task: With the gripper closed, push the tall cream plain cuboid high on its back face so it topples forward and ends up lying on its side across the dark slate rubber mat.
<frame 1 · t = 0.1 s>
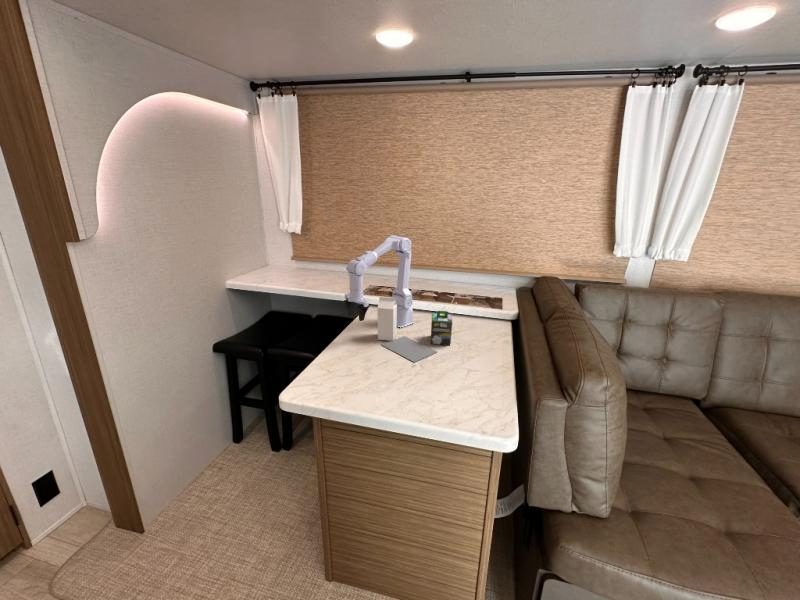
hand: (356, 317, 155), 10 cm above the worktop, tool pointing down, fingers open, 7 cm apart
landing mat: (409, 348, 150), on the worktop
chalk box: (440, 341, 160), on the worktop
cream plain cuboid: (387, 337, 160), on the worktop, touching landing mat
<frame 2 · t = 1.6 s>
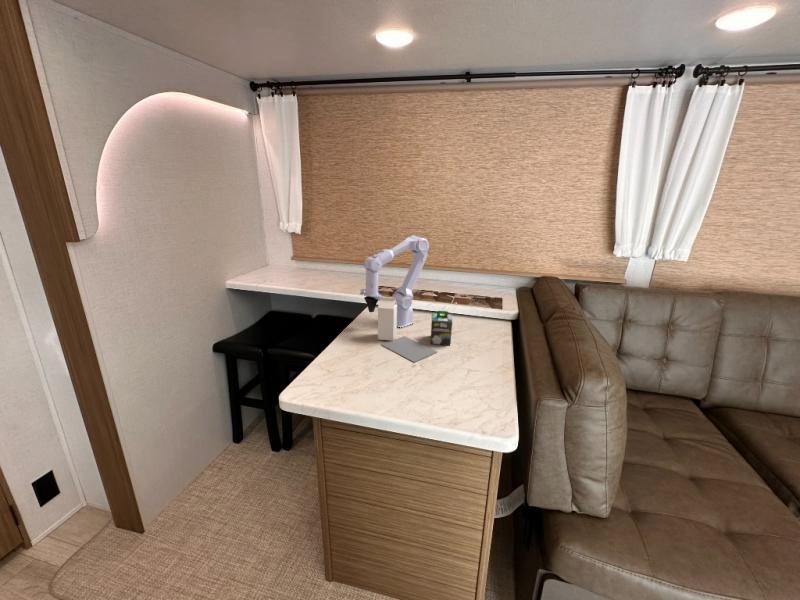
hand: (371, 311, 165), 9 cm above the worktop, tool pointing down, fingers closed
nothing on the worktop moved.
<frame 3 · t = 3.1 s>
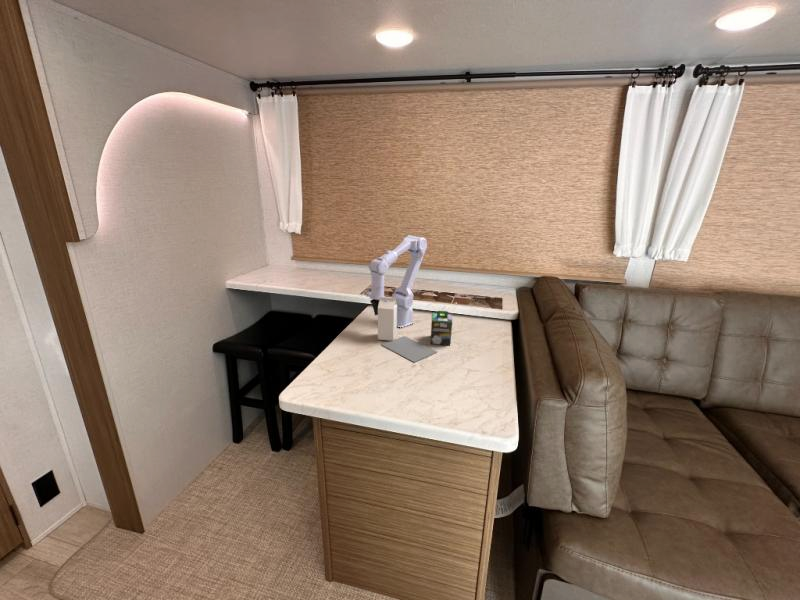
hand: (377, 314, 162), 9 cm above the worktop, tool pointing down, fingers closed
cream plain cuboid: (387, 337, 160), on the worktop, touching gripper, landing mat
everything else where it was.
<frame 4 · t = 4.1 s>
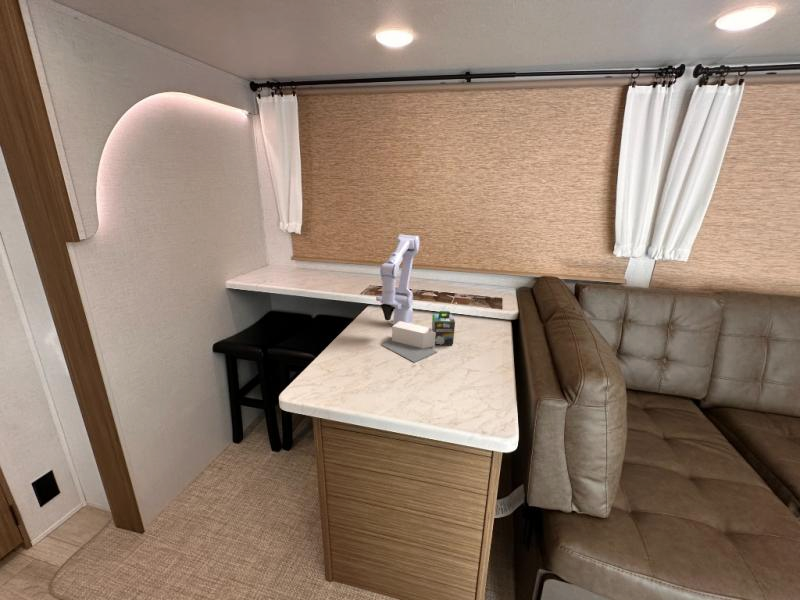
hand: (387, 319, 157), 9 cm above the worktop, tool pointing down, fingers closed
cream plain cuboid: (394, 330, 158), point 4 cm above the worktop, touching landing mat
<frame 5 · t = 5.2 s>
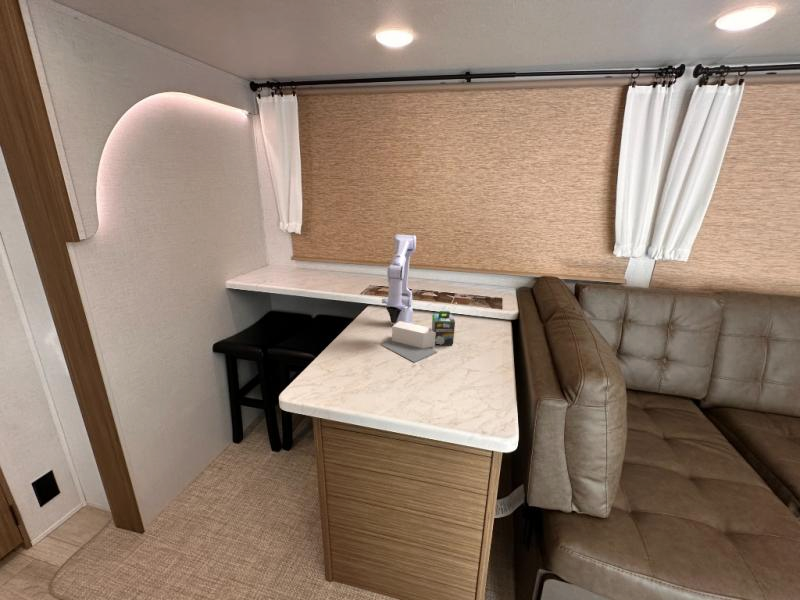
hand: (393, 322, 154), 9 cm above the worktop, tool pointing down, fingers closed
nothing on the worktop moved.
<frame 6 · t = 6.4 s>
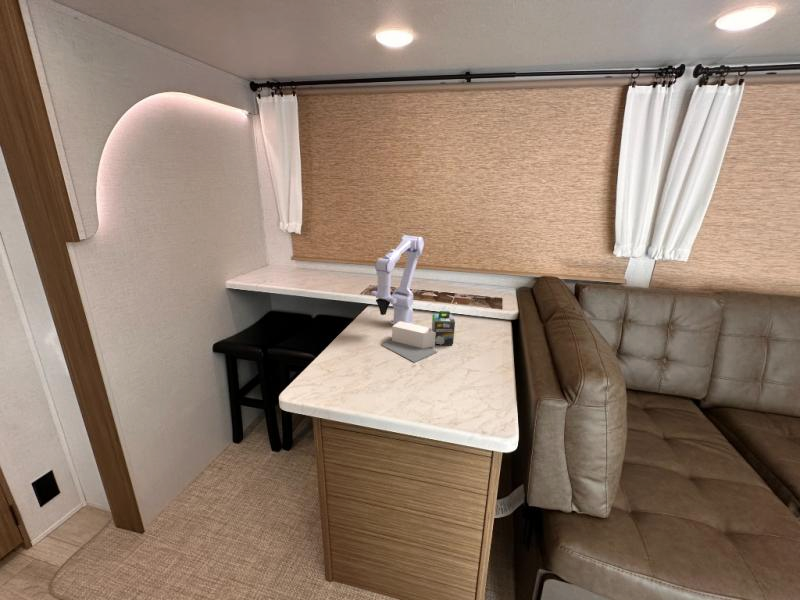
hand: (383, 314, 159), 10 cm above the worktop, tool pointing down, fingers closed
nothing on the worktop moved.
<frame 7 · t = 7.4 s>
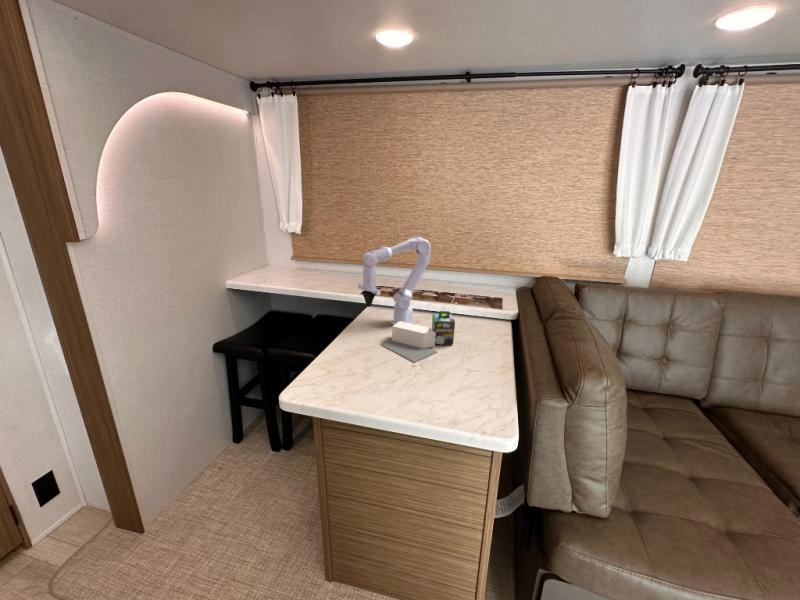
hand: (368, 305, 169), 10 cm above the worktop, tool pointing down, fingers closed
nothing on the worktop moved.
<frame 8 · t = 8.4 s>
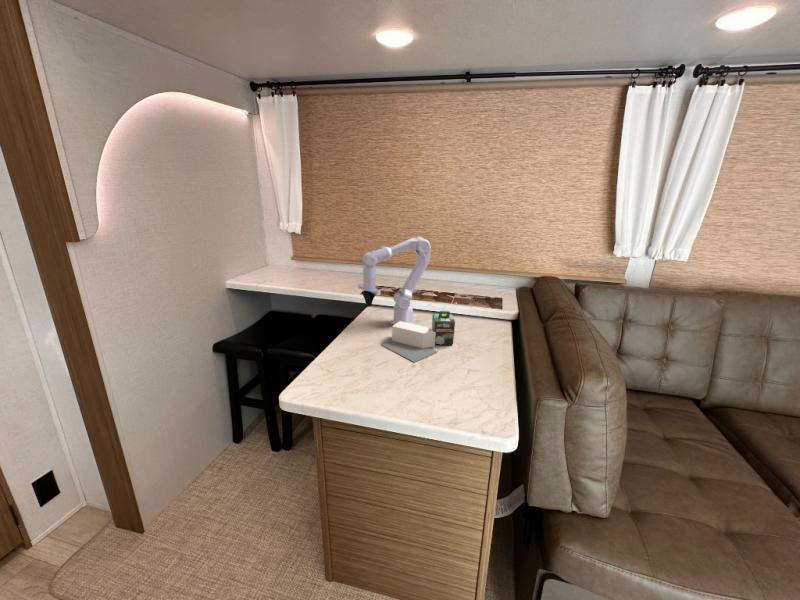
hand: (368, 305, 169), 10 cm above the worktop, tool pointing down, fingers closed
nothing on the worktop moved.
at the end: cream plain cuboid tilted 90°; cream plain cuboid inside the target area (2.7 cm from its centre), point 4.0 cm above the worktop; cream plain cuboid touching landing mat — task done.
